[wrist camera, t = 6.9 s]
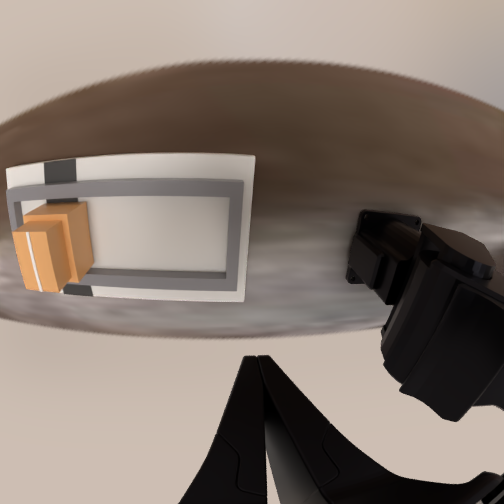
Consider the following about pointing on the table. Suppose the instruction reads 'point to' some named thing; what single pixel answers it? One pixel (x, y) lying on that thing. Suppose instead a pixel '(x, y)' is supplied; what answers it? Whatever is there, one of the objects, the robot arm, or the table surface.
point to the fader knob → (54, 246)
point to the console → (151, 220)
